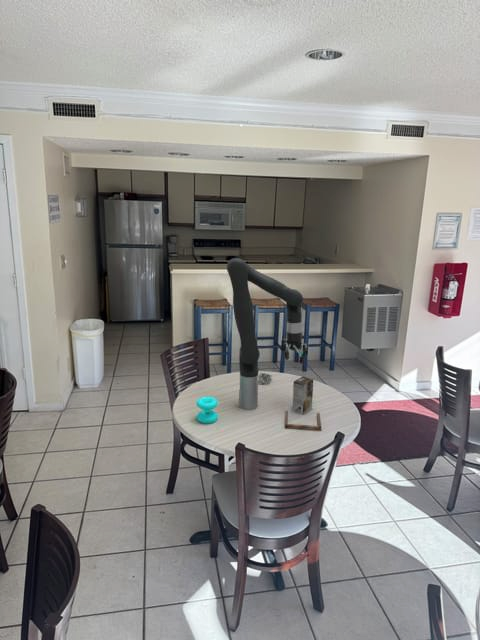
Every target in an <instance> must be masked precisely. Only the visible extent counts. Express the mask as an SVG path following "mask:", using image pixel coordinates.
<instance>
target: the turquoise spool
mask: <svg viewBox="0 0 480 640" xmlns="http://www.w3.org/2000/svg"><path fill="white" fill-rule="evenodd" d="M218 404H219V402H218V399H216V398H215V397H213V396H203V397H200V398H198V399H197V401H196V406H197V407H198V409H200V411H199V412H198V413H197V415H196V419H197V421H198V422H200V423H201V422H202V423H201V424H213V423H215V422H216V421H217V420H218V417H219V415H218V413H217V412H216V411H215V410H214V409H215V408H217V406H218Z"/></svg>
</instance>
